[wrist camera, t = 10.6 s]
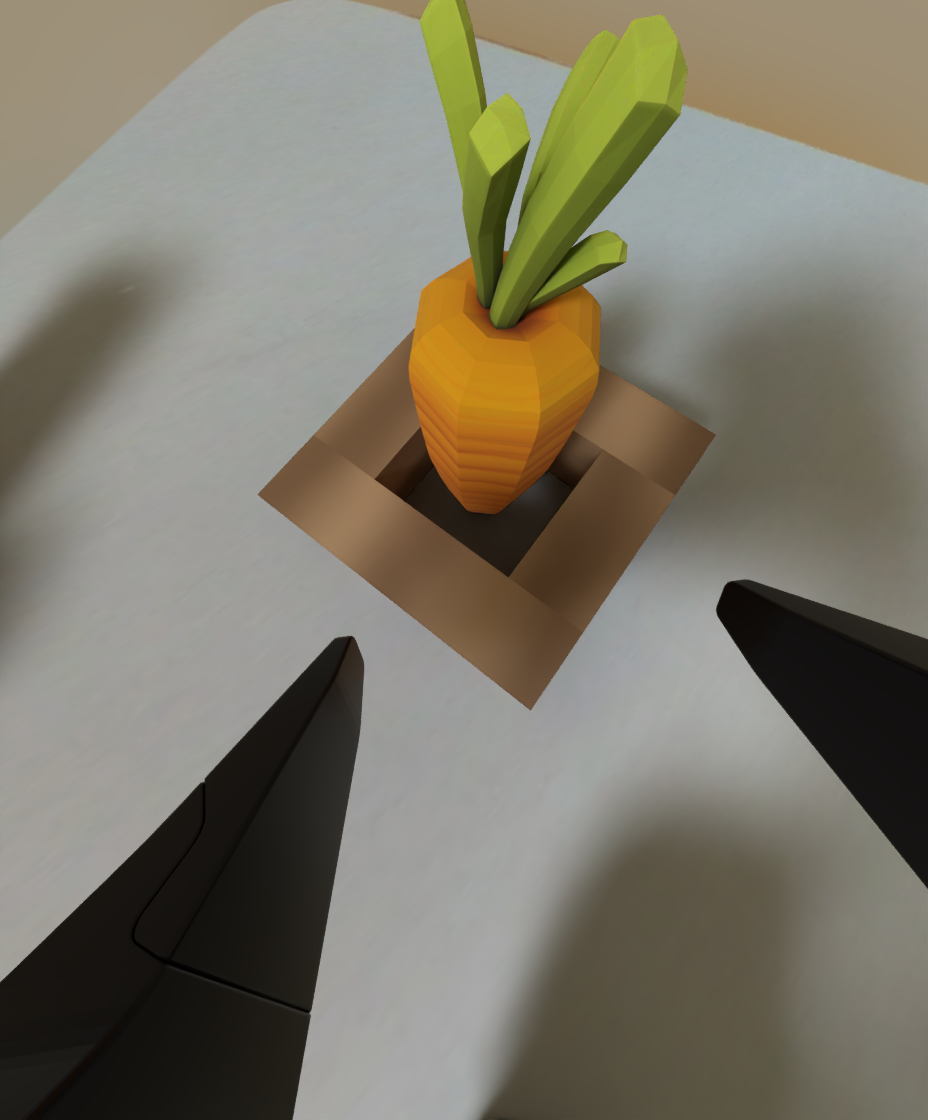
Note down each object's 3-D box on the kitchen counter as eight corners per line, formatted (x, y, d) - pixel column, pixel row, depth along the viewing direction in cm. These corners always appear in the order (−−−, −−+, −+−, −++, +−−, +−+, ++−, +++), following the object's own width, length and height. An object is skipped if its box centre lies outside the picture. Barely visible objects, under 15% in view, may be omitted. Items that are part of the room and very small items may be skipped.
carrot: (425, 475, 19) (293, -110, 4) (510, 453, 19) (676, -165, 4) (449, 560, 18) (390, 177, 3) (539, 534, 18) (885, 80, 3)
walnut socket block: (663, 476, 19) (715, 434, 15) (515, 692, 16) (530, 710, 12) (460, 348, 20) (459, 281, 17) (302, 524, 18) (257, 494, 14)
